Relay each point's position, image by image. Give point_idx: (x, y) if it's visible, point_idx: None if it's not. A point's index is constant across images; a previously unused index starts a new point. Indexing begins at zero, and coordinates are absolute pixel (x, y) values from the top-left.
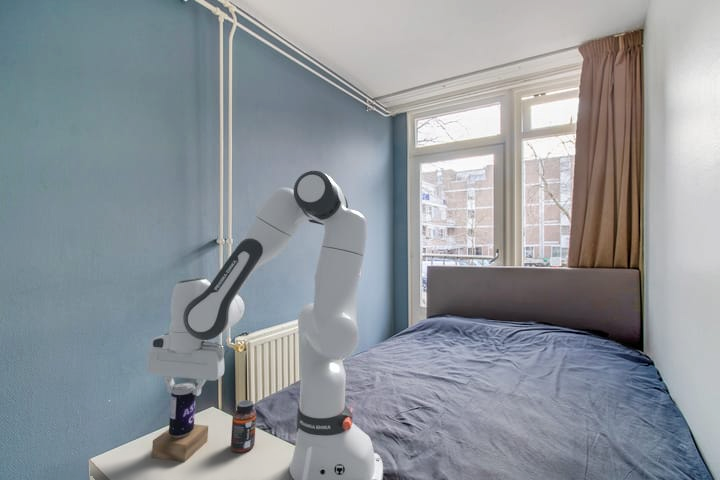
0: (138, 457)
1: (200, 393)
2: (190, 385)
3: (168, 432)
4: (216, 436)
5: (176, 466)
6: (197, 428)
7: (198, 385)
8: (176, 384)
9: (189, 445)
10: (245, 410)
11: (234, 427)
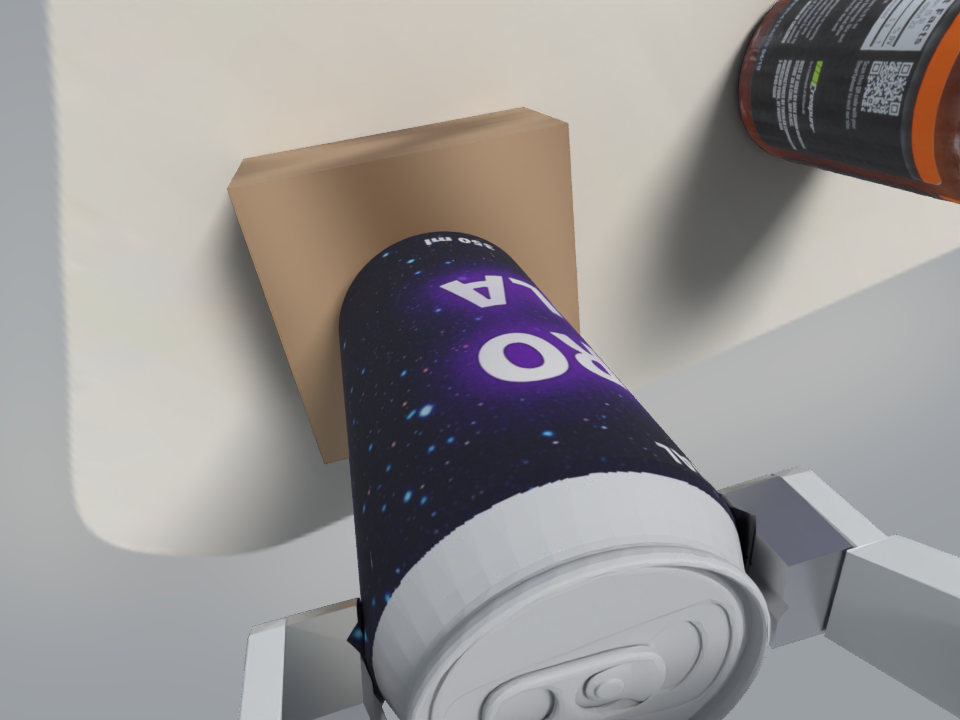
0: (249, 432)
1: (798, 475)
2: (665, 612)
3: (326, 351)
4: (547, 11)
5: None
6: (505, 202)
7: (946, 689)
8: (350, 717)
9: None
10: None
11: (905, 189)
